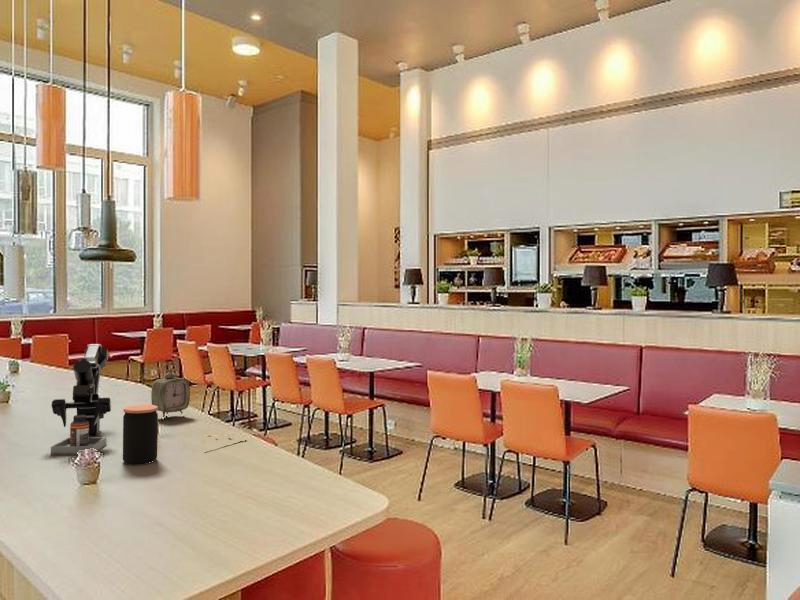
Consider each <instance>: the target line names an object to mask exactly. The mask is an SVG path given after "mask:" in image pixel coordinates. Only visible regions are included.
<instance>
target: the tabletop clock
mask: <svg viewBox="0 0 800 600" xmlns="http://www.w3.org/2000/svg"><path fill="white" fill-rule="evenodd" d="M171 364H174V365H175V367H176V368H174V369H173V368H171V367H170V368H169V369H166V367H167V366H168V365H171ZM163 369H164V371H165V372H167V373H166V374H165V375H164V377H163V378H158V379H156V380H154V381H153V382H152V385H151V395H150V398H151V405H156V406H158V410H157V411H159V412H162V417H165V414H168V415H169V413H177V412H180V414H182V413H184V412H183V411H184V410H186V409H188V407H189V405H190V396H191V387H190V382H189V379H187V378H182V377H181V378H180V377H178V376H177V374H176V372H175V371H176V370H177V369H178V364H177V362H174V361H170V362H166V363H165V364H164V366H163ZM157 411H156V412H157Z"/></svg>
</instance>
